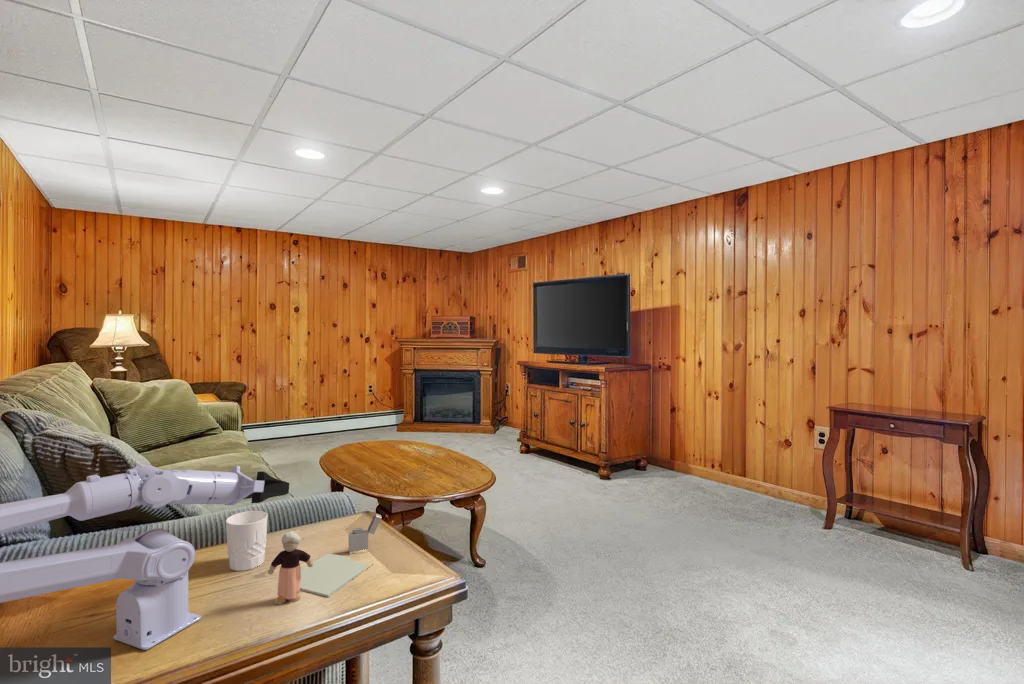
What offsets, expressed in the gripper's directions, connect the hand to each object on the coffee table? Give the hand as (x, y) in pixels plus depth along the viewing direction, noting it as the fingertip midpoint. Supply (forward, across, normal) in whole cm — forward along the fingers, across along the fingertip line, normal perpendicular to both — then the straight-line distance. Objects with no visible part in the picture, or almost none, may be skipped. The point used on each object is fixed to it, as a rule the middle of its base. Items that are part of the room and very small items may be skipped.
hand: (275, 489), depth 101 cm
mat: (+12, -3, +17) cm, 21 cm away
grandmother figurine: (+3, -5, +20) cm, 21 cm away
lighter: (+23, -1, +13) cm, 27 cm away
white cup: (+5, +15, +15) cm, 21 cm away
